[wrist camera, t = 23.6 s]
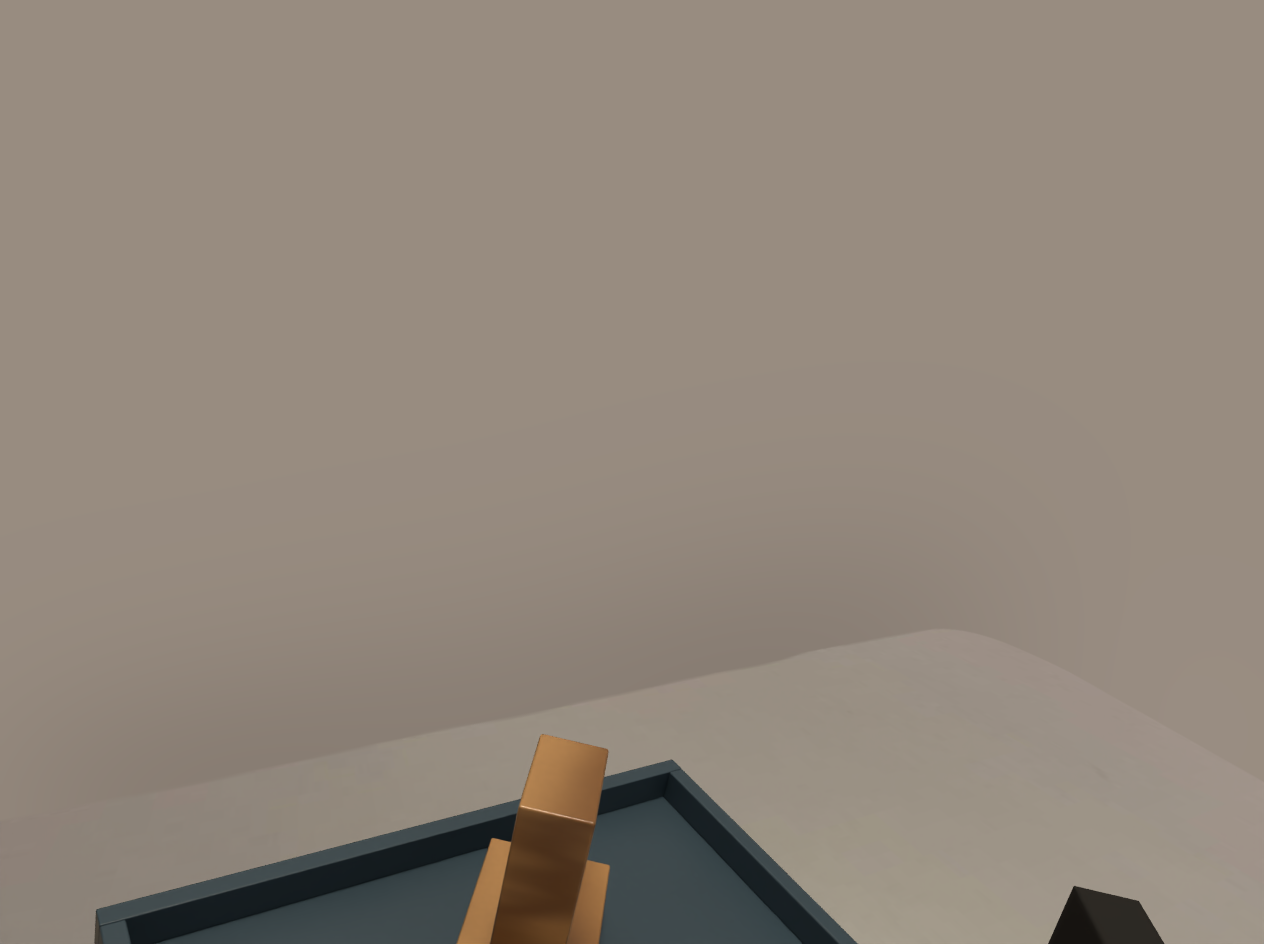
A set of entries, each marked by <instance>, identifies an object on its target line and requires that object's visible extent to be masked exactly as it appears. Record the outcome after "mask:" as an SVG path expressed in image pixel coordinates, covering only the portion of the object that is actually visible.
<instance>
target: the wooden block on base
mask: <svg viewBox="0 0 1264 944" xmlns="http://www.w3.org/2000/svg"><path fill="white" fill-rule="evenodd" d="M607 758H608V749H605V748H600V747H596V746H592V745H588V744H583V743H579V742H575V741H570V740H566V739H562V738H557V737H553V736H549V735H544V734H542V735H541V736H540V738H539V742H538V745H537V748H536V751H535V755H534V758H533V761H532V764H531V768H530V771H529V774H528V777H527V781H526V784H525V787H524V790H523V794H522V797H521V800H520V803H519V807H518V811H517V816H516V821H515V826H514V830H513V835H512V840H511V842H508V841H504V840H500V839H495V838H492V839H491V841H490V844H489V847H488V850H487V853H486V856H485V859H484V862H483V865H482V868H481V871H480V874H479V877H478V880H477V883H476V886H475V889H474V892H473V895H472V898H471V901H470V904H469V907H468V910H467V913H466V916H465V919H464V922H463V925H462V928H461V931H460V934H459V937H458V940H457V943H456V944H599V941H600V934H601V927H602V920H603V913H604V906H605V899H606V892H607V885H608V879H609V872H610V866H609V865H607V864H602V863H598V862H594V861H590V860H587V858H588V854H589V850H590V846H591V842H592V838H593V834H594V829H595V825H596V820H597V814H598V809H599V803H600V797H601V792H602V786H603V780H604V775H605V769H606V763H607Z"/></svg>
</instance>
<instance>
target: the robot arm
mask: <svg viewBox="0 0 1264 944" xmlns="http://www.w3.org/2000/svg"><path fill="white" fill-rule="evenodd" d="M1048 944H1164V942H1163V941H1162V939H1161V937H1160V936H1159V934H1158V932H1157V931H1156V929H1155V927H1154V926H1153V924H1152V922H1151V921H1150V919H1149V917H1148V916H1147V914H1146V912H1145V911H1144V909H1143V907H1142V906H1141V904H1140V902H1139V901H1136V900H1132V899H1128V898H1123V897H1119V896H1115V895H1111V894H1106V893H1102V892H1098V891H1093V890H1089V889H1085V888H1081V887H1076V886H1074V887H1073V889H1072V891H1071V894H1070V896H1069V898H1068V900H1067V903H1066V905H1065V907H1064V909H1063V912H1062V914H1061V916H1060V918H1059V921H1058V923H1057V925H1056V927H1055V930H1054V932H1053V934H1052V936H1051V939H1050V941H1049V943H1048Z"/></svg>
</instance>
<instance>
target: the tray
mask: <svg viewBox="0 0 1264 944" xmlns="http://www.w3.org/2000/svg"><path fill="white" fill-rule="evenodd" d="M520 800H521V799H519V800H515V801H511V802H507V803H503V804H500V805H496V806H492V807H488V808H484V809H480V810H477V811H473V812H469V813H465V814H461V815H457V816H453V817H450V818H446V819H442V820H438V821H434V822H430V823H427V824H423V825H419V826H415V827H411V828H407V829H404V830H400V831H396V832H392V833H388V834H384V835H380V836H377V837H373V838H369V839H365V840H361V841H357V842H354V843H350V844H346V845H342V846H338V847H334V848H331V849H327V850H323V851H319V852H315V853H311V854H307V855H304V856H300V857H296V858H292V859H288V860H284V861H281V862H277V863H273V864H269V865H265V866H261V867H258V868H254V869H250V870H246V871H242V872H238V873H234V874H231V875H227V876H223V877H219V878H215V879H211V880H208V881H204V882H200V883H196V884H192V885H188V886H185V887H181V888H177V889H173V890H169V891H165V892H161V893H158V894H154V895H150V896H146V897H142V898H138V899H135V900H131V901H127V902H123V903H119V904H115V905H112V906H108V907H104V908H100V909H97V910H96V923H95V944H456V943H457V940H458V937H459V934H460V931H461V928H462V925H463V922H464V919H465V916H466V913H467V910H468V907H469V904H470V901H471V898H472V895H473V892H474V889H475V886H476V883H477V880H478V877H479V874H480V871H481V868H482V865H483V862H484V859H485V856H486V853H487V850H488V847H489V844H490V841H491V839H492V838H495V839H500V840H504V841H508V842H511V840H512V835H513V830H514V826H515V821H516V816H517V811H518V807H519V803H520ZM587 860H590V861H594V862H598V863H602V864H607V865H609V866H610V872H609V879H608V885H607V892H606V899H605V906H604V913H603V920H602V927H601V934H600V941H599V944H857V943H856V942H855V941H854V940H853V939H852V938H851V937H850V936H849V935H848V934H847V933H846V932H845V931H844V930H843V929H842V928H841V927H840V926H839V925H838V924H837V923H836V922H835V921H834V920H833V919H832V918H831V917H830V916H829V915H828V914H827V913H826V912H825V911H824V910H823V909H822V908H821V907H820V906H819V905H818V904H817V903H816V902H815V901H814V900H813V899H812V898H811V897H810V896H809V895H808V894H807V893H806V892H805V891H804V890H803V889H802V888H801V887H800V886H799V885H798V884H797V883H796V882H795V881H794V880H793V879H792V878H791V877H790V876H789V875H788V874H787V873H786V872H785V871H784V870H783V869H782V868H781V867H780V866H779V865H778V864H777V863H776V862H775V861H774V860H773V859H772V858H771V857H770V856H769V855H768V854H767V853H766V852H765V851H764V850H763V849H762V848H761V847H760V846H759V845H758V844H757V843H756V842H755V841H754V840H753V839H752V838H751V837H750V836H749V835H748V834H747V833H746V832H745V831H744V830H743V829H742V828H741V827H740V826H739V825H738V824H737V823H736V822H735V821H734V820H733V819H732V818H730V817H729V816H728V815H727V814H726V813H725V812H724V811H723V810H722V809H721V808H720V807H719V806H718V805H717V804H716V803H715V802H714V801H713V800H712V799H711V798H710V797H709V796H708V795H707V794H706V793H705V792H704V791H703V790H702V789H701V788H700V787H699V786H698V785H697V784H696V783H695V782H694V781H693V780H692V779H691V778H690V777H689V776H688V775H687V774H686V773H685V772H684V771H683V770H681V768H680V767H679V766H678V765H677V764H676V763H675V762H674V761H673V760H669V761H665V762H661V763H657V764H653V765H649V766H646V767H642V768H638V769H634V770H630V771H626V772H622V773H619V774H615V775H611V776H607V777H604V780H603V786H602V792H601V797H600V803H599V809H598V814H597V820H596V825H595V829H594V834H593V838H592V842H591V846H590V850H589V854H588V858H587Z"/></svg>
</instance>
